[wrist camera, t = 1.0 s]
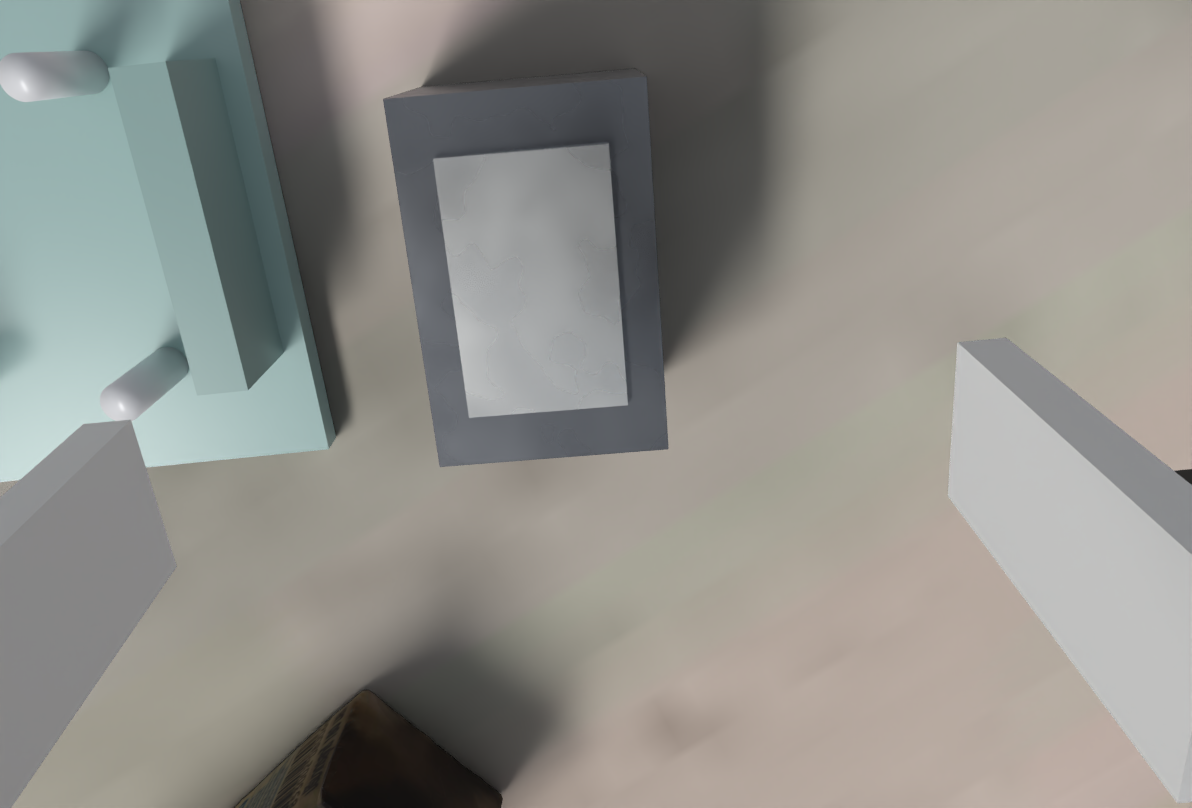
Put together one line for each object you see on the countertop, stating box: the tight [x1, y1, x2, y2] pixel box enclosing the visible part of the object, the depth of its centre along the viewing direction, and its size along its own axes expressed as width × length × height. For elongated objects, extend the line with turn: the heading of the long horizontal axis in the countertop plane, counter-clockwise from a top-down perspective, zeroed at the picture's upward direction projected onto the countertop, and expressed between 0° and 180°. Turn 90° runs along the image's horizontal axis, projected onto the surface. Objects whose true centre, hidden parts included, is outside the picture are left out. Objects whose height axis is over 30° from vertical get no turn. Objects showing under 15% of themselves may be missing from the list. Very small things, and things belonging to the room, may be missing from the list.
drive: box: [383, 68, 668, 467], centre depth 28 cm, size 10×6×6 cm, turn 5°
